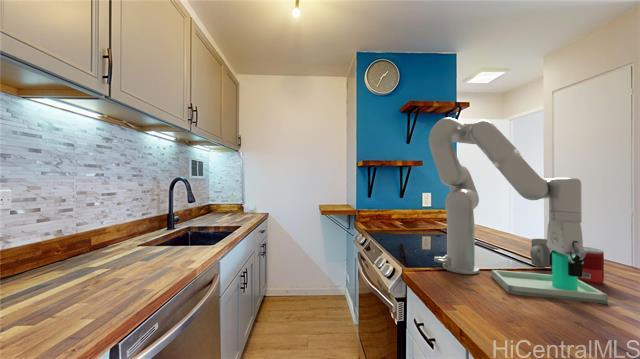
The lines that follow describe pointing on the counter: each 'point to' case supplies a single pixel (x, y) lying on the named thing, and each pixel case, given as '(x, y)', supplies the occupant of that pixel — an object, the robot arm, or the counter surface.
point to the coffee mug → (540, 253)
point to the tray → (545, 287)
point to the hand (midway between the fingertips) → (565, 270)
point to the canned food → (593, 266)
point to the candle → (562, 273)
